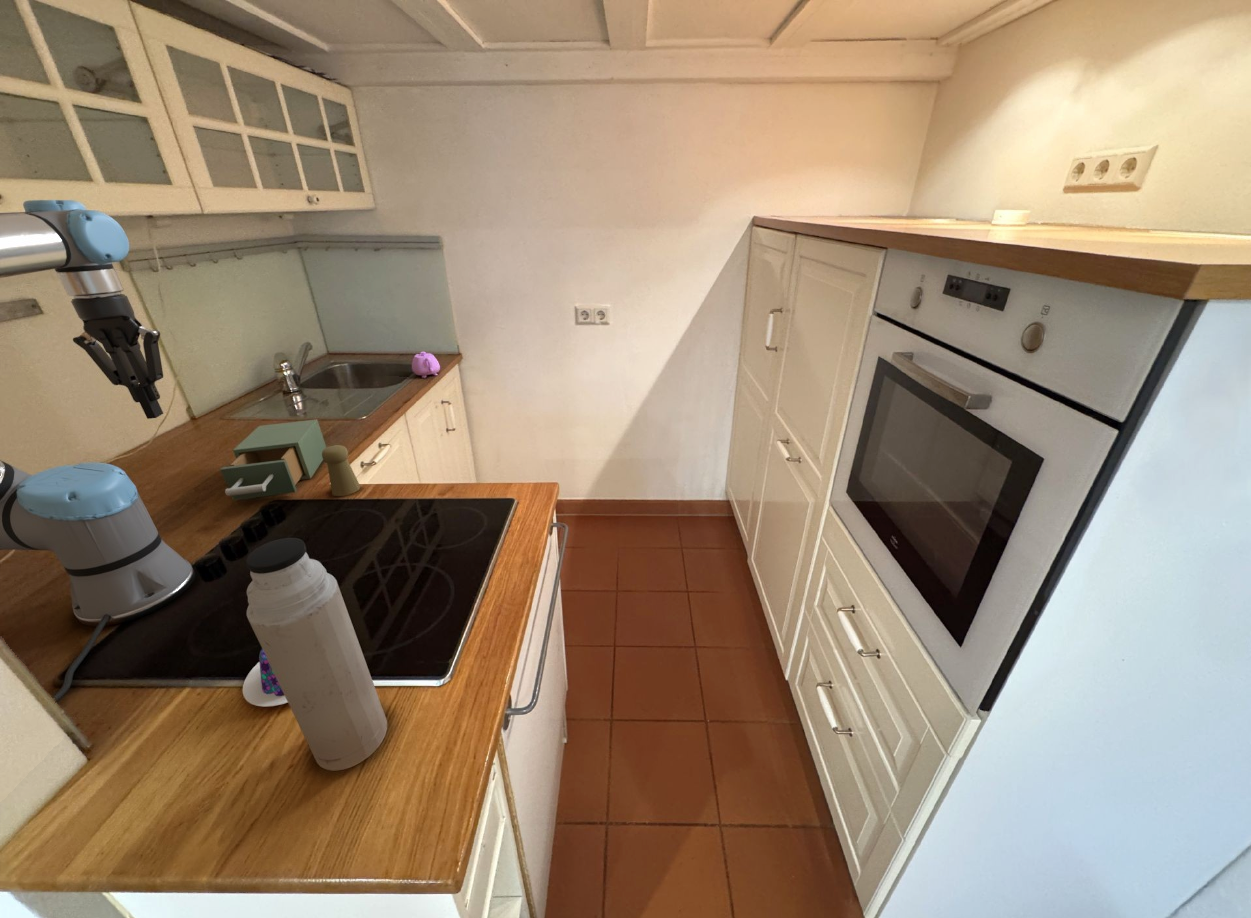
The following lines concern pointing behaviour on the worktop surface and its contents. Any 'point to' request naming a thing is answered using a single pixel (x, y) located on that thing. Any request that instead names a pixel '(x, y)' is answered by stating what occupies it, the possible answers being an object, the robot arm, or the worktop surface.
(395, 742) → the worktop surface
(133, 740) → the worktop surface
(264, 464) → the drawer
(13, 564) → the worktop surface
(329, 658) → the thermos bottle
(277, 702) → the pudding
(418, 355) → the pink rounded figure
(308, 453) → the cabinet
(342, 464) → the olive tapered upright piece
